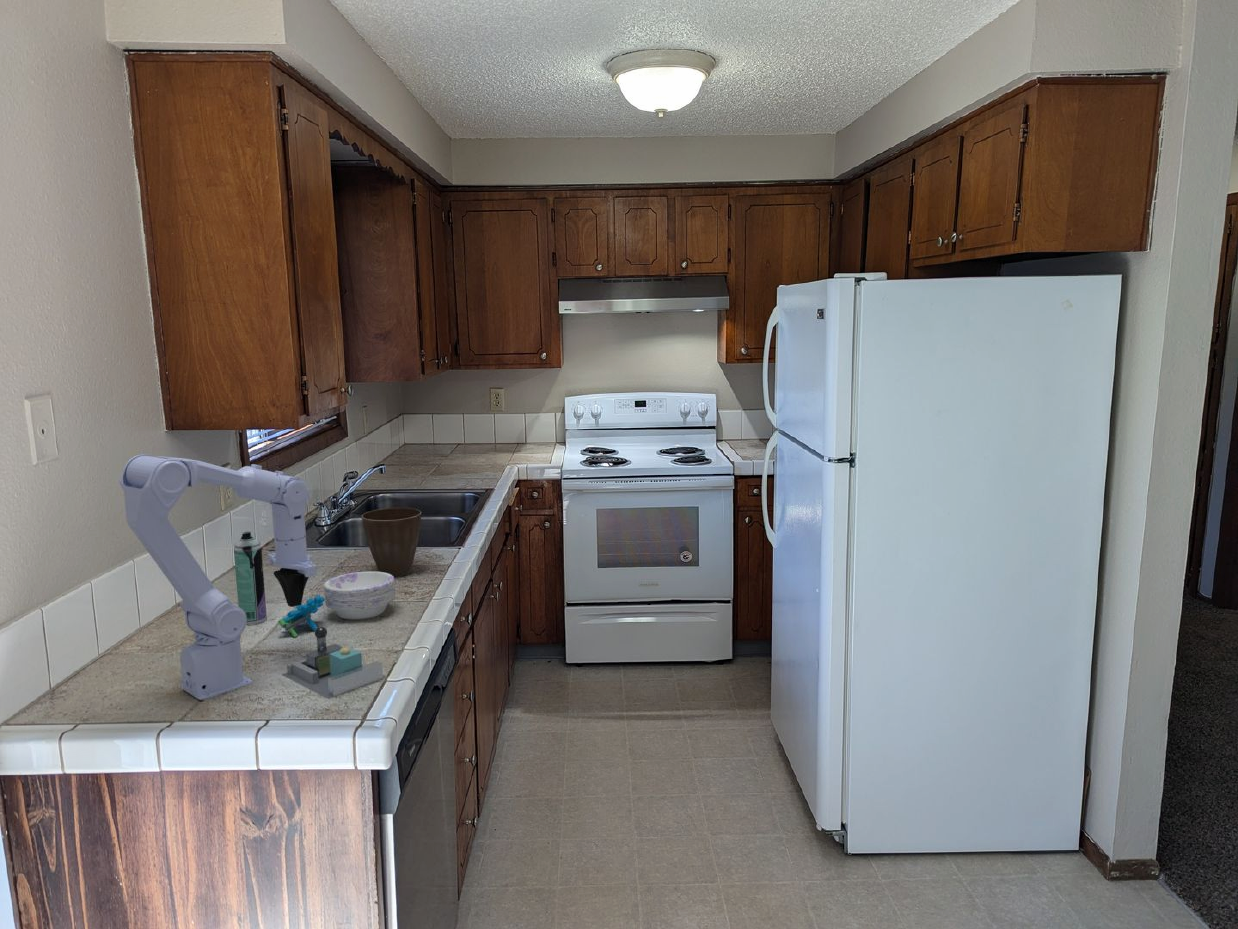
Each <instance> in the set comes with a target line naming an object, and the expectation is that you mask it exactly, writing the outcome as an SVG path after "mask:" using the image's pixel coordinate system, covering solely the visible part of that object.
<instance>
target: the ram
mask: <svg viewBox="0 0 1238 929" xmlns="http://www.w3.org/2000/svg"><path fill="white" fill-rule="evenodd" d="M317 627H318V626H317ZM327 635H328V630H327V628H326V627H323V626H319V627H318V628H317V629H316V630H315V632H314V636H315V638H316V647H317V649H314V650H312V651H308V652H306V653H305V659H306V664H307V667H309V668H311V669H313V670H315V671H317V672H318V677H320V676H323V675H326V674H329V673H330V657H329V654H330V653H333V652H336V651H339V650H340V649H341V648H344V647H343V646H341V645H338V644H337V643H334V644H330V645H327Z"/></svg>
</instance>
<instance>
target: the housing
mask: <svg viewBox="0 0 1238 929" xmlns="http://www.w3.org/2000/svg"><path fill="white" fill-rule="evenodd" d="M329 657H330V673H331V677H333V676H336V675H339V674H341V673H344V672H347V671H350V670H353V669H356V668H358V667H361V666H363V659H362V658H363V657H362V652H361V651H359V650H356V649H354V648H352V647H349V646H348V647H347V646H345V647H343V648H341V649H340V650H339V651H336V652H333V653H330V654H329Z"/></svg>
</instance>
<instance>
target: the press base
mask: <svg viewBox="0 0 1238 929" xmlns="http://www.w3.org/2000/svg"><path fill="white" fill-rule="evenodd" d="M286 670H287V671H286V672H284V673H282V674H281V676H283V677H285V678H287V679H289V680H291V681H293V682H295V683H296V684H299V685H300V686H303V687H304V688H306V689H308V690H310V691H312V692H314V693H316V694H318V695H320V696H321V697H324V698H326V699H327V700H329V699H332V698H336V697H338V696H341V695H342V694H346V693H349V692H351V691H354V690H356V689H359V688H361V687H364V686H367V685H370V684H372V683H375V682H377V681H380V680H383V679H386V678H388V676H386V675H384V674H383V662H380V661H379V660H376V661H372V662H370V663H367V664H364V665H362V666H361V667H358V668H356V669H353V670H350V671H347V672H344V673H341V674H339V675H336V676H333V677H331V673H329V674H326V675H323V676H320V677H318V672H317V671H315V670H313V669H311V668H309V667H307V664H306V658H302V659H300V660H296V661H294V662H290V663H288V664H286Z"/></svg>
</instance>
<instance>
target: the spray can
mask: <svg viewBox="0 0 1238 929" xmlns="http://www.w3.org/2000/svg"><path fill="white" fill-rule="evenodd" d="M262 552H263V550H262V544H261V541H260V540H257V539H256V538H255V537H254V536H253V535H252V533H251V531H244V532H242V534H241V537H240V538H239V540H237V542H235V543H234V544H233V556H234V569H235V570H234V571H235V579H236V582H235V583H236V593H237V594H236V595H237V605H238V607H240V608H242V609H243V610H244V612H245V614H246V617H247V623H246V626H254V625H259V624H262V623H265V622H267V604H266V603H267V602H266V592H265V577H264V563H263V553H262Z"/></svg>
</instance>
